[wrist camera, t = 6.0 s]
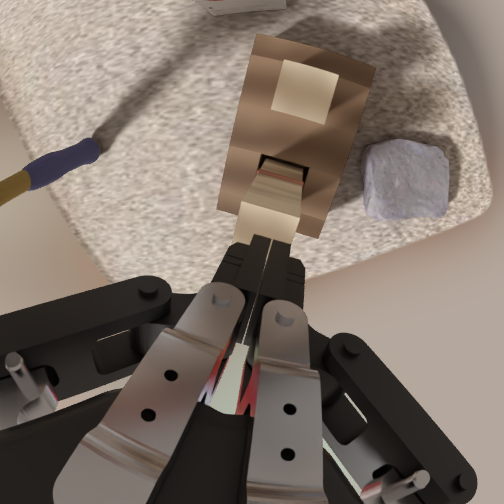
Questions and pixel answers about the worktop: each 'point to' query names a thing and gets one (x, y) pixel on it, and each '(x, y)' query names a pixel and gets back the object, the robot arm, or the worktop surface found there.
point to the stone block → (404, 180)
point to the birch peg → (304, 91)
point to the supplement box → (240, 5)
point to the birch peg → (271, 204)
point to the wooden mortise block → (294, 128)
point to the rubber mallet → (49, 168)
